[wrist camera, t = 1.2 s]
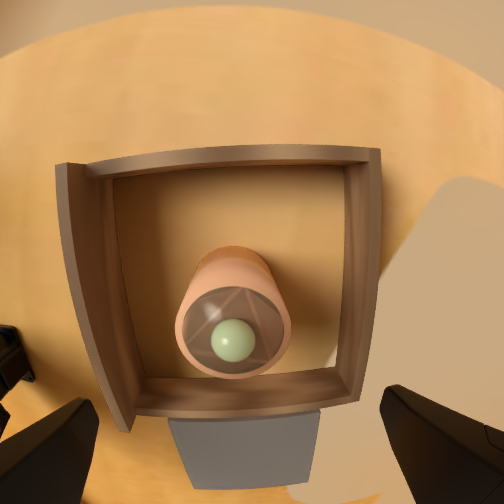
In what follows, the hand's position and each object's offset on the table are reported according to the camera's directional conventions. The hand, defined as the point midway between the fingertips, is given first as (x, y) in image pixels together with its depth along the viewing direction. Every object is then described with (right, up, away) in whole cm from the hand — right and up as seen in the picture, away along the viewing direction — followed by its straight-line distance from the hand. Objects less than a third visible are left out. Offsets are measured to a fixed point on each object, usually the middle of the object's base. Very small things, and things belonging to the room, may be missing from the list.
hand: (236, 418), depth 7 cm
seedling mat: (0, -17, +17) cm, 24 cm away
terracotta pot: (-1, +2, +13) cm, 13 cm away
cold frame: (-1, +2, +13) cm, 13 cm away
